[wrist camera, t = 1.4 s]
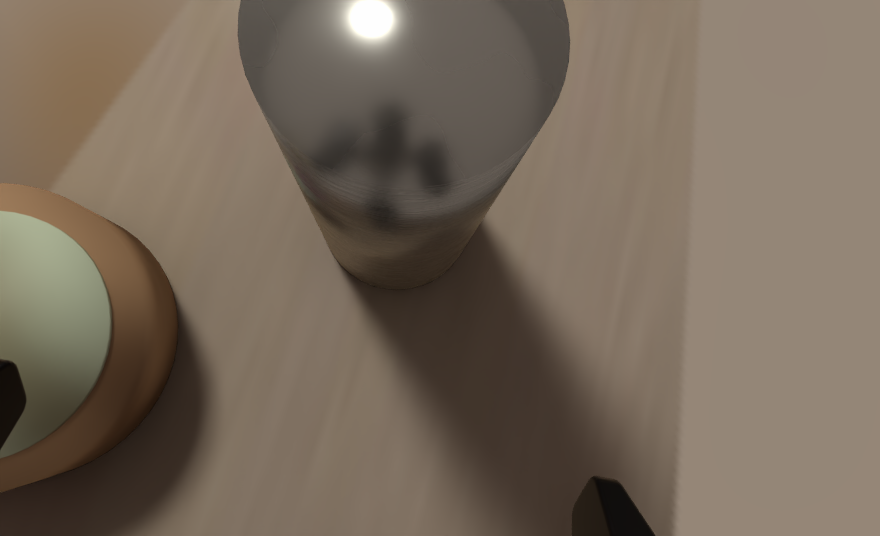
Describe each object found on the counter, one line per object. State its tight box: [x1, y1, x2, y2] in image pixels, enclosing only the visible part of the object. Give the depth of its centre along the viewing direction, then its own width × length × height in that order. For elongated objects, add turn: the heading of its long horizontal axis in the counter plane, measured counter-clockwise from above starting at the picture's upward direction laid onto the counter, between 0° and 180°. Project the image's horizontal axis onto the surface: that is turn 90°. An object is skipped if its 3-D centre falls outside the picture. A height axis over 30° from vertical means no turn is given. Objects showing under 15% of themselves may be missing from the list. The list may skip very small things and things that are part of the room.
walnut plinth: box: [0, 183, 178, 493], centre depth 19 cm, size 10×10×3 cm
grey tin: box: [238, 0, 570, 290], centre depth 17 cm, size 6×6×13 cm
